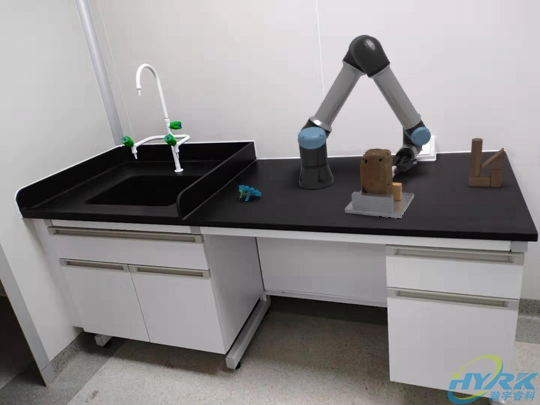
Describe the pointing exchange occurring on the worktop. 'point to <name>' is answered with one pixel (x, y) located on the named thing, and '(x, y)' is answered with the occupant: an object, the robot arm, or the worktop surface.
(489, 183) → the wooden block structure
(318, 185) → the robot arm
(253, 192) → the blue bumpy figure
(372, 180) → the block
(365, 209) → the base
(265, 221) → the worktop surface
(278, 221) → the worktop surface
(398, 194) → the block
